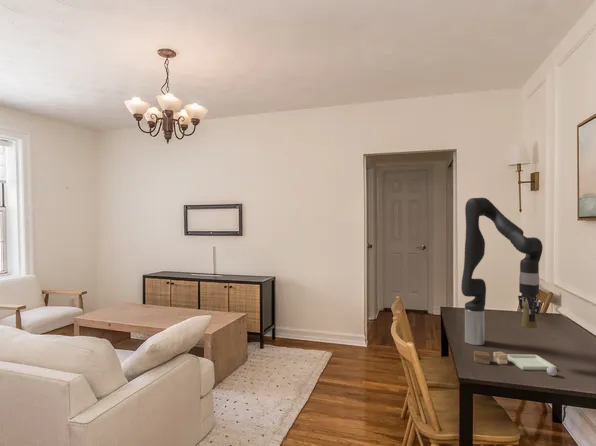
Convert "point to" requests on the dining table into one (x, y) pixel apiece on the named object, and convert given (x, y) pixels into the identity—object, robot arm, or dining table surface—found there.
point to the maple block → (500, 358)
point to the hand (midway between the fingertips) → (529, 321)
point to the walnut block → (481, 357)
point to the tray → (529, 362)
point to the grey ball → (551, 371)
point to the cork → (527, 317)
